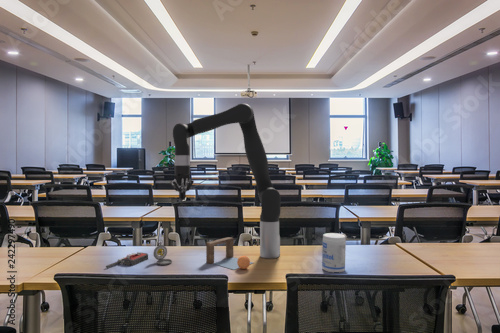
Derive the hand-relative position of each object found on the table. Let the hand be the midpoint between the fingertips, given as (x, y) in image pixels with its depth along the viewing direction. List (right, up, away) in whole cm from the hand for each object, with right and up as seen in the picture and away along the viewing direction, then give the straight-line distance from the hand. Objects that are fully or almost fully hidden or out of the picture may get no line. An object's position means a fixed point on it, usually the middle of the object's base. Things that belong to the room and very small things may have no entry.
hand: (182, 199), depth 166 cm
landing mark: (+26, -27, -14) cm, 40 cm away
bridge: (+19, -27, -9) cm, 34 cm away
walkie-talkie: (-21, -28, -14) cm, 38 cm away
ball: (+31, -25, -22) cm, 45 cm away
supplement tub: (+69, -28, -23) cm, 78 cm away
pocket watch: (-6, -28, -13) cm, 31 cm away
